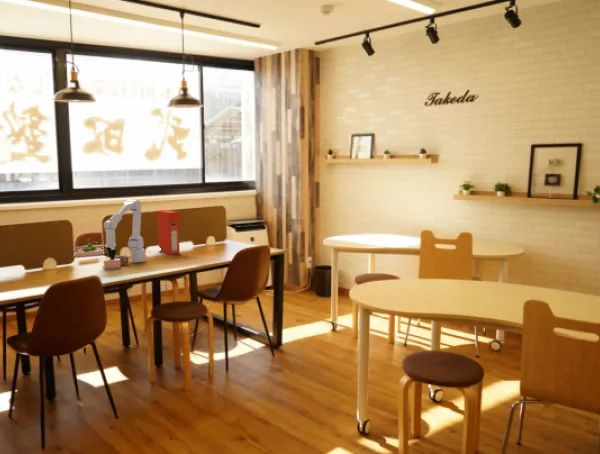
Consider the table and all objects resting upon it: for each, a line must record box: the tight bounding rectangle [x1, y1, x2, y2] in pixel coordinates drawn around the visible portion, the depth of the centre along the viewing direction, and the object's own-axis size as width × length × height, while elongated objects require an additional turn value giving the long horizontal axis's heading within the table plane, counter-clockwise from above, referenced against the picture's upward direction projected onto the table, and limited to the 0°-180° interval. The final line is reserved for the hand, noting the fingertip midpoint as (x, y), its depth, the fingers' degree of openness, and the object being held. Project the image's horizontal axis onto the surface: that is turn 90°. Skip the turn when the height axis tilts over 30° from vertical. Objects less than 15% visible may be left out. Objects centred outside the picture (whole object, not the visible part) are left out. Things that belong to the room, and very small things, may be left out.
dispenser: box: [115, 254, 129, 266], centre depth 370 cm, size 7×6×6 cm
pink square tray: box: [73, 244, 104, 258], centre depth 410 cm, size 25×25×3 cm
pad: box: [102, 265, 122, 271], centre depth 360 cm, size 10×10×1 cm
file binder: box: [156, 209, 180, 256], centre depth 412 cm, size 8×17×32 cm, turn 44°
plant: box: [76, 237, 103, 253], centre depth 410 cm, size 20×20×11 cm
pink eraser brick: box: [103, 258, 122, 269], centre depth 359 cm, size 10×3×5 cm, turn 118°
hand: (111, 258), depth 359 cm, fingers open, 7 cm apart
